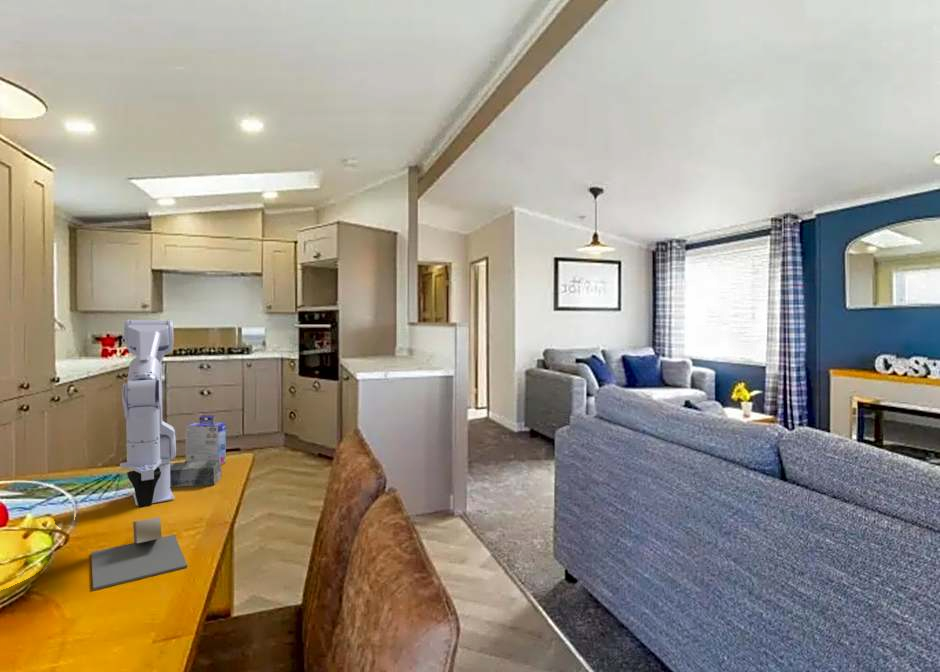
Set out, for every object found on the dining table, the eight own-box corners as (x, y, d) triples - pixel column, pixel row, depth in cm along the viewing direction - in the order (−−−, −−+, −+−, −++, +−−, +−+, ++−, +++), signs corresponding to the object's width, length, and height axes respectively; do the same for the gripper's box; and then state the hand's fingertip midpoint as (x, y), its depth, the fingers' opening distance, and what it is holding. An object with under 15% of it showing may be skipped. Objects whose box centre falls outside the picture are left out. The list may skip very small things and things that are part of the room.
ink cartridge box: (227, 461, 163) (226, 414, 163) (219, 467, 158) (218, 418, 157) (194, 461, 163) (193, 414, 162) (185, 467, 158) (184, 418, 157)
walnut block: (133, 522, 108) (136, 521, 102) (156, 517, 110) (160, 516, 104) (134, 542, 107) (137, 543, 101) (157, 537, 110) (161, 538, 103)
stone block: (168, 478, 148) (167, 459, 148) (223, 476, 151) (223, 458, 150) (155, 489, 139) (154, 469, 139) (214, 486, 142) (214, 467, 141)
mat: (91, 554, 102) (91, 551, 102) (174, 536, 111) (174, 534, 111) (93, 590, 89) (93, 588, 89) (187, 567, 98) (187, 565, 98)
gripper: (117, 434, 111) (118, 499, 112) (122, 450, 99) (123, 522, 100) (156, 430, 115) (157, 492, 116) (165, 444, 104) (166, 514, 104)
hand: (144, 506), depth 108 cm, fingers closed
